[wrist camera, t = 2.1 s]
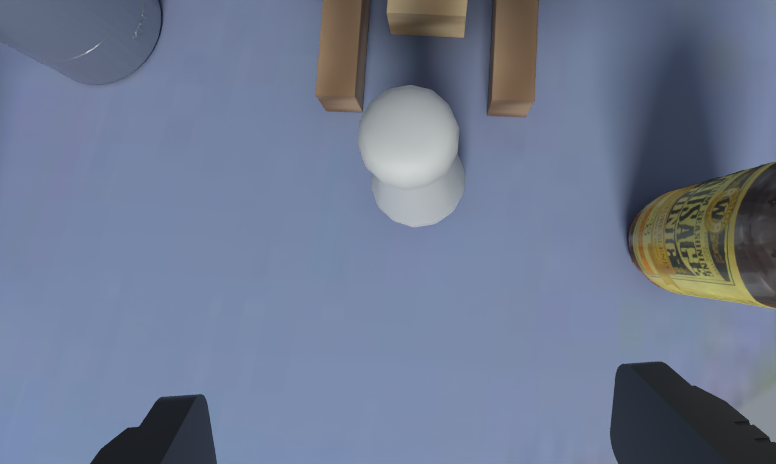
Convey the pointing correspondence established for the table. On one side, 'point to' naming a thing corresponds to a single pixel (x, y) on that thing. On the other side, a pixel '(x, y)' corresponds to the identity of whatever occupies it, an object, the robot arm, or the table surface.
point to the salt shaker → (412, 155)
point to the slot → (507, 56)
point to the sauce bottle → (712, 238)
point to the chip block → (427, 17)
